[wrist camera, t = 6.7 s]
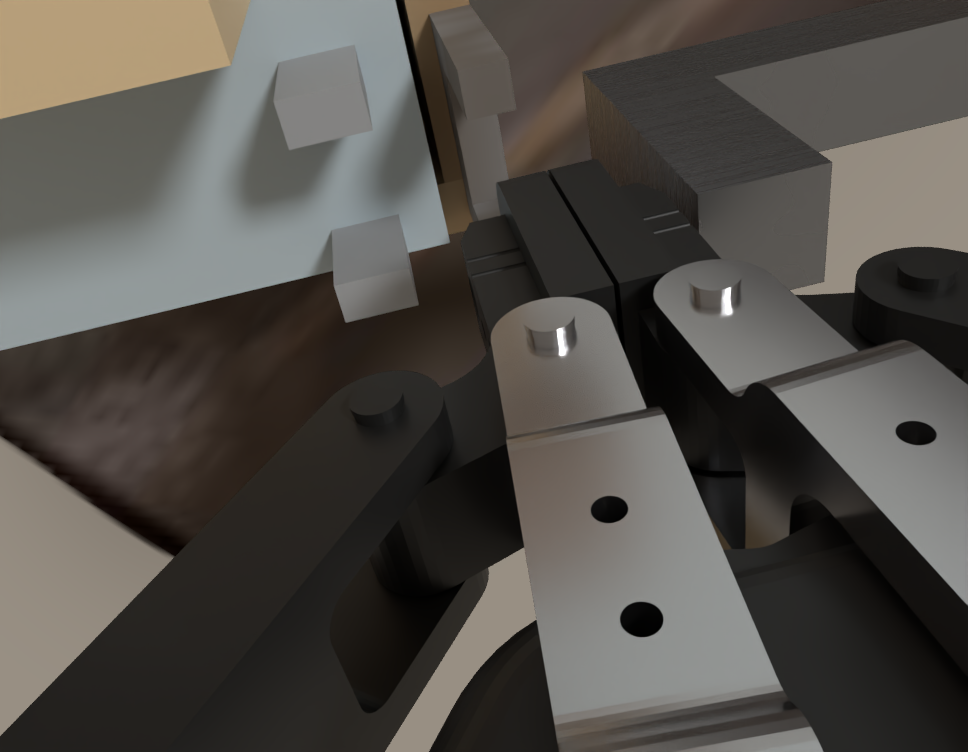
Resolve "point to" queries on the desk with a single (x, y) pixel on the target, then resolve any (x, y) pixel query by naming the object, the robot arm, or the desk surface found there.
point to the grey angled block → (776, 120)
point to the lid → (205, 157)
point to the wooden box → (459, 103)
